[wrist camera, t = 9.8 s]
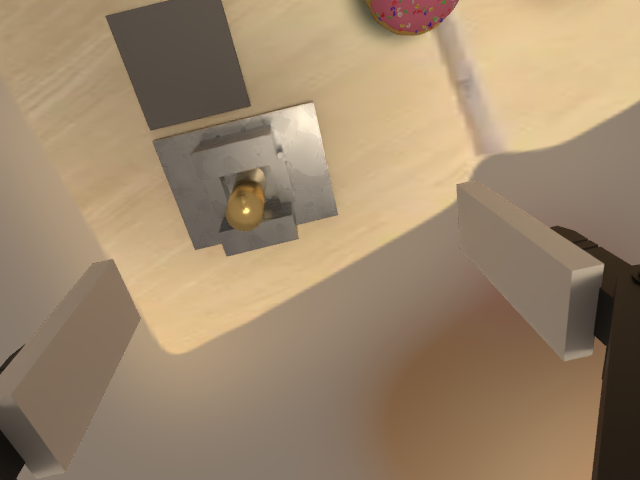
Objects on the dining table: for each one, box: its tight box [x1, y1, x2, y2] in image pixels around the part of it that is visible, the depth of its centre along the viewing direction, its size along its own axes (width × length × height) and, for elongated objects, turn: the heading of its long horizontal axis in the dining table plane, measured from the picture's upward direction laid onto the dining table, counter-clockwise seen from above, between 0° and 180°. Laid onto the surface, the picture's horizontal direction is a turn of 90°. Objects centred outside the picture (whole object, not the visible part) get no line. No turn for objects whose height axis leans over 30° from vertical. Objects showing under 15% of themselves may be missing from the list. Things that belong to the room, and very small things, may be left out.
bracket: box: [153, 101, 338, 256], centre depth 40 cm, size 12×16×7 cm
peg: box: [225, 168, 266, 231], centre depth 38 cm, size 3×3×10 cm
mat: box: [106, 0, 251, 130], centre depth 38 cm, size 10×10×1 cm
